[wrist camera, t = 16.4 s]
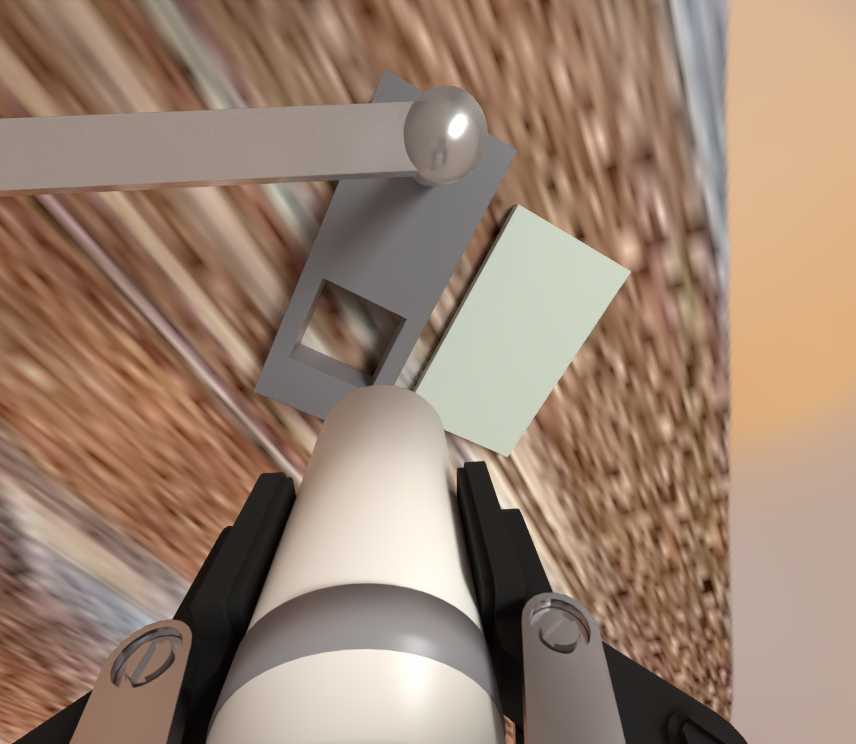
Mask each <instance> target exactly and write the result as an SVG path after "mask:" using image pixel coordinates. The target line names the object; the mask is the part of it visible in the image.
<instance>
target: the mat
mask: <svg viewBox="0 0 856 744" xmlns="http://www.w3.org/2000/svg"><path fill="white" fill-rule="evenodd" d="M630 272H631V271H629V270H627V269H626V268H624V267H622V266H621V265H619V264H617V263H616V262H614V261H612V260H611V259H609V258H607V257H606V256H604V255H602V254H601V253H599V252H597V251H596V250H594V249H592V248H591V247H589V246H587V245H586V244H584V243H582V242H581V241H579V240H577V239H576V238H574V237H572V236H570V235H569V234H567V233H565V232H564V231H562V230H560V229H559V228H557V227H555V226H554V225H552V224H550V223H549V222H547V221H545V220H544V219H542V218H540V217H539V216H537V215H535V214H534V213H532V212H530V211H529V210H527V209H525V208H524V207H522V206H520V205H519V204H518V205H514V206H513V208H512V210H511V212H510V214H509V215H508V217H507V219H506V221H505V223H504V225H503V226H502V228H501V230H500V232H499V234H498V236H497V237H496V239H495V241H494V243H493V245H492V247H491V248H490V250H489V252H488V254H487V256H486V258H485V260H484V261H483V263H482V265H481V267H480V269H479V271H478V272H477V274H476V276H475V278H474V280H473V282H472V283H471V285H470V287H469V289H468V291H467V293H466V294H465V296H464V298H463V300H462V302H461V304H460V305H459V307H458V309H457V311H456V313H455V315H454V316H453V318H452V320H451V322H450V324H449V326H448V327H447V329H446V331H445V333H444V335H443V337H442V338H441V340H440V342H439V344H438V346H437V348H436V349H435V351H434V353H433V355H432V357H431V359H430V360H429V362H428V364H427V366H426V368H425V370H424V371H423V373H422V375H421V377H420V379H419V381H418V382H417V384H416V386H415V388H414V390H413V392H415V393H416V394H418V395H420V396H421V397H423V398H424V399H425V400H426V401H428V402H429V403H430V404H431V405H432V407H433V408H434V409H435V410H436V412H437V413H438V415H439V417H440V419H441V422H442V424H443V428H444V430H446V431H448V432H451V433H453V434H455V435H458V436H460V437H462V438H465V439H467V440H469V441H471V442H474V443H476V444H478V445H481V446H483V447H485V448H488V449H490V450H492V451H495V452H497V453H499V454H501V455H504V456H506V457H508V456H509V454H510V453H511V451H512V450H513V448H514V447H515V445H516V444H517V442H518V441H519V439H520V438H521V436H522V435H523V433H524V432H525V430H526V429H527V427H528V425H529V424H530V422H531V421H532V419H533V418H534V416H535V415H536V413H537V412H538V410H539V409H540V407H541V406H542V404H543V403H544V401H545V400H546V398H547V397H548V395H549V394H550V392H551V391H552V389H553V388H554V386H555V385H556V383H557V382H558V380H559V379H560V377H561V376H562V374H563V373H564V371H565V370H566V368H567V367H568V365H569V364H570V362H571V361H572V359H573V358H574V356H575V355H576V353H577V352H578V350H579V349H580V347H581V346H582V344H583V343H584V341H585V340H586V338H587V337H588V335H589V334H590V332H591V331H592V329H593V328H594V326H595V325H596V323H597V322H598V320H599V319H600V317H601V316H602V314H603V313H604V311H605V310H606V308H607V307H608V305H609V304H610V302H611V301H612V299H613V298H614V296H615V295H616V293H617V292H618V290H619V289H620V287H621V286H622V284H623V283H624V281H625V280H626V278H627V277H628V275H629V274H630Z"/></svg>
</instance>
